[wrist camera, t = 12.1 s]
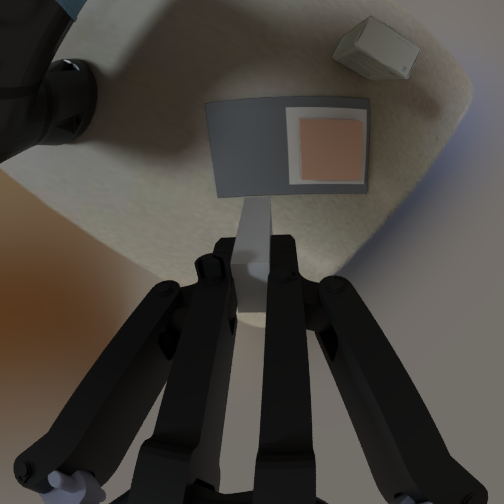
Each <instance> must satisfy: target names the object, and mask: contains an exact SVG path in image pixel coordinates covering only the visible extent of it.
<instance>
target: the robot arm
mask: <svg viewBox="0 0 504 504" xmlns="http://www.w3.org/2000/svg"><path fill="white" fill-rule="evenodd" d="M86 1H87V0H0V163H2V162H4V161H6V160H7V159H9V158H11V157H13V156H15V155H17V154H19V153H21V152H22V151H24V150H26V149H28V148H30V147H33V146H35V145H62V144H65V143H67V142H70V141H72V140H74V139H76V138H77V137H79V136H80V135H81V134H82V133H83V132H84V131H85V129H86V128H87V126H88V125H89V123H90V121H91V119H92V117H93V114H94V111H95V107H96V100H97V87H96V81H95V78H94V75H93V73H92V71H91V69H90V68H89V67H88V66H87V65H86V64H85V63H84V62H82V61H80V60H77V59H61V60H57V61H55V62H53V63H51V62H52V60H53V58H54V56H55V54H56V52H57V50H58V48H59V46H60V45H61V43H62V41H63V39H64V38H65V36H66V34H67V32H68V31H69V29H70V28H71V26H72V24H73V23H74V22H76V20H77V16H78V14H79V12H80V11H81V9H82V7H83V6H84V4H85V3H86ZM194 264H195V268H196V271H197V275H198V282H197V283H195V284H192V285H189V286H185V287H180V285H179V284H178V283H177V282H175V281H173V280H167V281H162V282H160V283H158V284H156V285H155V286H154V287H153V288H152V289H151V290H150V292H149V293H148V294H147V295H146V297H145V298H144V299H143V300H142V301H141V303H140V304H139V305H138V307H137V308H136V309H135V310H134V312H133V313H132V314H131V315H130V317H129V318H128V319H127V321H126V322H125V323H124V324H123V326H122V327H121V328H120V330H119V331H118V332H117V334H116V335H115V336H114V337H113V339H112V340H111V341H110V343H109V344H108V345H107V347H106V348H105V349H104V351H103V352H102V354H101V355H100V356H99V358H98V359H97V361H96V362H95V363H94V365H93V366H92V367H91V369H90V370H89V372H88V373H87V374H86V376H85V377H84V379H83V380H82V381H81V383H80V384H79V386H78V387H77V389H76V390H75V392H74V393H73V395H72V396H71V397H70V399H69V401H68V402H67V404H66V405H65V406H64V408H63V409H62V411H61V413H60V414H59V416H58V417H57V419H56V420H55V422H54V423H53V425H52V427H51V428H50V430H49V432H48V433H46V434H45V435H44V436H43V437H42V438H40V439H39V440H38V441H37V442H35V443H34V444H33V445H32V446H30V447H29V448H28V449H26V450H25V451H24V452H22V453H21V454H20V455H19V456H18V457H17V458H16V459H15V462H14V474H15V478H16V479H17V481H18V482H19V483H20V484H21V485H22V486H23V487H25V488H28V489H30V490H32V491H35V492H38V493H39V494H40V496H41V497H42V499H43V501H44V503H45V504H99V503H100V502H102V501H104V500H105V499H106V493H105V491H104V490H103V489H101V487H102V486H103V485H104V484H105V483H106V482H107V481H108V480H109V479H110V477H111V476H112V475H113V474H114V472H115V471H116V470H117V468H118V466H119V465H120V463H121V461H122V460H123V458H124V456H125V454H126V452H127V450H128V449H129V447H130V445H131V443H132V442H133V440H134V438H135V436H136V434H137V433H138V431H139V429H140V427H141V426H142V424H143V421H144V420H145V418H146V417H147V415H148V413H149V411H150V409H151V408H152V406H153V404H154V402H155V401H156V399H157V397H158V395H159V394H160V392H161V390H162V388H163V387H164V385H165V383H166V381H167V384H166V387H165V391H164V395H163V398H162V402H161V406H160V410H159V413H158V417H157V421H156V426H155V429H154V433H153V435H152V436H151V438H149V439H147V440H145V441H144V442H143V444H142V445H141V447H140V450H139V454H138V458H137V462H136V466H135V470H134V474H133V479H132V483H131V488H130V489H129V490H128V491H127V492H125V493H124V494H122V495H121V496H120V497H118V498H117V499H115V500H114V501H112V502H111V503H109V504H328V503H326V502H325V501H323V500H321V499H320V498H318V497H316V463H315V454H314V451H313V441H312V414H311V394H310V376H309V362H308V348H307V336H306V329H307V330H312V331H315V335H316V337H317V340H318V342H319V345H320V347H321V349H322V351H323V354H324V356H325V359H326V361H327V363H328V366H329V368H330V370H331V373H332V375H333V377H334V380H335V382H336V385H337V387H338V389H339V392H340V394H341V397H342V399H343V401H344V404H345V406H346V409H347V411H348V414H349V416H350V419H351V421H352V424H353V426H354V428H355V431H356V434H357V436H358V439H359V441H360V444H361V447H362V449H363V452H364V454H365V457H366V459H367V462H368V465H369V467H370V470H371V473H372V475H373V478H374V480H375V482H376V485H377V487H378V489H379V491H380V493H381V494H382V495H383V497H384V499H385V500H386V501H387V502H388V504H487V501H488V492H487V490H486V488H485V487H484V486H483V485H482V484H481V483H480V482H479V481H478V480H477V479H476V478H474V477H473V476H472V475H471V474H470V473H469V472H468V471H467V470H465V469H464V468H463V467H462V466H461V465H460V464H459V463H458V462H457V461H455V459H453V458H452V457H451V456H450V454H449V452H448V450H447V447H446V445H445V443H444V441H443V439H442V437H441V435H440V433H439V431H438V429H437V427H436V425H435V423H434V421H433V419H432V417H431V415H430V413H429V411H428V409H427V407H426V405H425V404H424V402H423V400H422V398H421V396H420V394H419V393H418V391H417V389H416V387H415V385H414V384H413V382H412V380H411V378H410V377H409V375H408V373H407V371H406V370H405V368H404V366H403V364H402V363H401V361H400V359H399V358H398V356H397V355H396V353H395V351H394V349H393V348H392V346H391V344H390V343H389V341H388V339H387V338H386V336H385V335H384V333H383V331H382V330H381V328H380V326H379V325H378V323H377V322H376V320H375V319H374V317H373V316H372V314H371V312H370V311H369V309H368V308H367V306H366V305H365V303H364V302H363V300H362V299H361V297H360V296H359V294H358V293H357V291H356V290H355V288H354V287H353V285H352V284H351V283H350V282H349V281H348V280H347V279H346V278H343V277H341V276H336V275H335V276H328V277H325V278H323V279H322V280H321V281H320V283H317V282H313V281H309V280H307V279H305V278H304V277H302V276H301V274H300V273H299V269H298V261H297V252H296V244H295V239H294V238H293V237H292V236H291V235H290V234H288V235H272V217H271V200H270V196H269V197H249V198H245V200H244V204H243V209H242V213H241V218H240V222H239V226H238V231H237V235H236V237H229V238H221V239H220V240H219V241H218V242H217V243H216V244H215V247H214V251H213V253H209V254H205V255H203V256H201V257H199V258H198V259H197V260H196V261H195V263H194ZM237 307H238V313H239V312H266V327H265V348H264V349H265V350H264V368H263V386H262V403H261V420H260V435H259V448H258V453H257V457H256V465H255V477H254V489H253V491H247V492H241V493H233V494H222V493H219V485H220V467H219V458H220V450H221V442H222V435H223V426H224V419H225V412H226V404H227V396H228V389H229V381H230V373H231V366H232V358H233V350H234V343H235V336H236V329H237V315H236V311H237Z"/></svg>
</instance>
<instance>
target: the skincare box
mask: <svg viewBox="0 0 504 504" xmlns="http://www.w3.org/2000/svg"><path fill="white" fill-rule="evenodd" d="M420 52H421V49H420V48H419V47H417V46H416V45H415V44H414V43H412V42H411V41H410V40H408V39H407V38H406V37H404V36H403V35H401V34H400V33H399V32H397V31H395V30H394V29H392V28H391V27H389V26H388V25H386V24H385V23H383V22H381V21H380V20H378V19H376V18H374V17H373V16H369V17H368V18H366V19H365V20H364V21H362V22H361V23H360V24H358V25H357V26H356V27H354V28H353V29H352V30H350V31H349V32H348V33H346V34H345V35H344V36H343V37H342V39H341V41H340V42H339V44H338V46H337V48H336V50H335V52H334V54H333V56H332V59H334V60H335V61H337V62H339V63H341V64H342V65H344V66H346V67H348V68H349V69H351V70H353V71H355V72H356V73H358V74H360V75H361V76H363V77H365V78H366V79H368V80H407V79H408V77H409V75H410V73H411V71H412V69H413V68H414V65H415V63H416V61H417V59H418V57H419V55H420Z"/></svg>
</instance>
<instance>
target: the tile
mask: <svg viewBox="0 0 504 504" xmlns="http://www.w3.org/2000/svg"><path fill="white" fill-rule="evenodd" d="M298 120H299V144H300V175H301V179H302V180H360V179H361V163H362V136H363V122H362V121H360V120H357V119H339V118H298Z"/></svg>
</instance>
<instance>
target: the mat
mask: <svg viewBox="0 0 504 504" xmlns="http://www.w3.org/2000/svg"><path fill="white" fill-rule="evenodd" d="M205 108H206V116H207V124H208V132H209V139H210V147H211V154H212V161H213V169H214V176H215V183H216V189H217V196H218V198H221V197H237V196H255V195H278V194H319V193H363V194H366V191H367V178H368V163H369V139H370V100H369V99H359V98H345V97H321V96H289V97H265V98H250V99H239V100H229V101H221V102H213V103H206V104H205ZM298 118H339V119H357V120H360V121H362V122H363V136H362V163H361V179H360V180H302V179H301V175H300V144H299V120H298Z"/></svg>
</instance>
